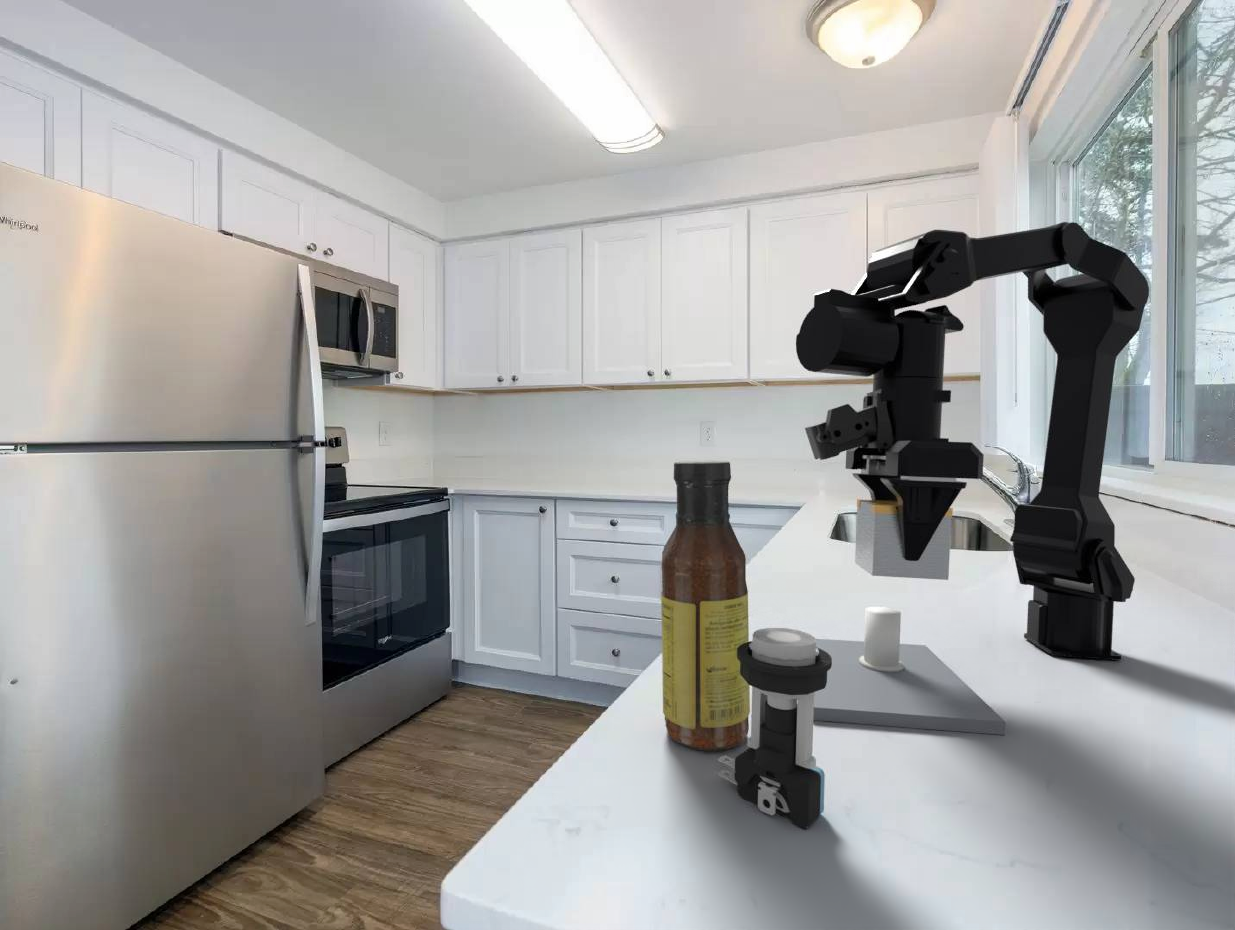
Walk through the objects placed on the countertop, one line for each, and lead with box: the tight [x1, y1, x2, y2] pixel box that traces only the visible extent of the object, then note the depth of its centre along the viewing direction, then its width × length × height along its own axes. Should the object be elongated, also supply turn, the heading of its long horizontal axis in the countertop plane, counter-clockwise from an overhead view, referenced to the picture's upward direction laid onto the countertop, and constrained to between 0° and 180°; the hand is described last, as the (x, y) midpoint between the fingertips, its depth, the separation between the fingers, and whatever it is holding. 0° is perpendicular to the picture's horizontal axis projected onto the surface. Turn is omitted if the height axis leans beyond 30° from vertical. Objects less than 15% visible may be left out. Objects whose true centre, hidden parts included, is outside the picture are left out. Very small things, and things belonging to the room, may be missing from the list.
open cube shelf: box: [854, 499, 954, 581], centre depth 58 cm, size 6×6×6 cm
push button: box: [717, 627, 832, 830], centre depth 38 cm, size 7×5×10 cm
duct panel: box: [813, 606, 1006, 736], centre depth 57 cm, size 14×18×6 cm
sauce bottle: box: [660, 460, 751, 751], centre depth 46 cm, size 7×6×20 cm
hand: (899, 554), depth 58 cm, fingers closed on open cube shelf, 6 cm apart
